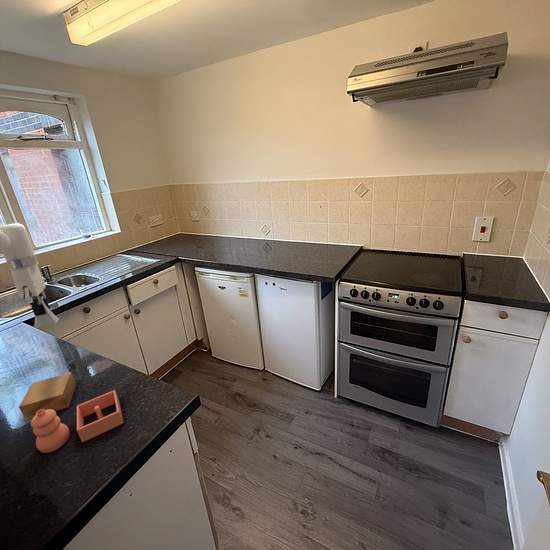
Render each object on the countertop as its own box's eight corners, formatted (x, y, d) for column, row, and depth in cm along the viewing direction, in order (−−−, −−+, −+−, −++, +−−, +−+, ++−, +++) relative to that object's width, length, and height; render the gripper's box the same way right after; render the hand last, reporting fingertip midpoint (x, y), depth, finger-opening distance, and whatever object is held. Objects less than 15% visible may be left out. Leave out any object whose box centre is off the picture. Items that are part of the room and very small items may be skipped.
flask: (33, 331, 100) (22, 304, 97) (35, 323, 106) (25, 297, 103) (59, 324, 104) (49, 298, 101) (59, 316, 110) (50, 291, 106)
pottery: (119, 401, 83) (108, 373, 79) (123, 424, 75) (112, 393, 72) (41, 435, 74) (25, 405, 71) (37, 465, 67) (19, 433, 63)
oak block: (26, 421, 79) (18, 407, 78) (38, 396, 88) (32, 383, 86) (68, 408, 82) (62, 394, 81) (76, 385, 91) (71, 372, 89)
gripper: (19, 258, 103) (38, 305, 110) (-3, 271, 89) (20, 325, 95) (44, 254, 106) (61, 301, 112) (27, 267, 91) (48, 320, 98)
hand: (42, 312), depth 104 cm, fingers closed on flask, 3 cm apart
